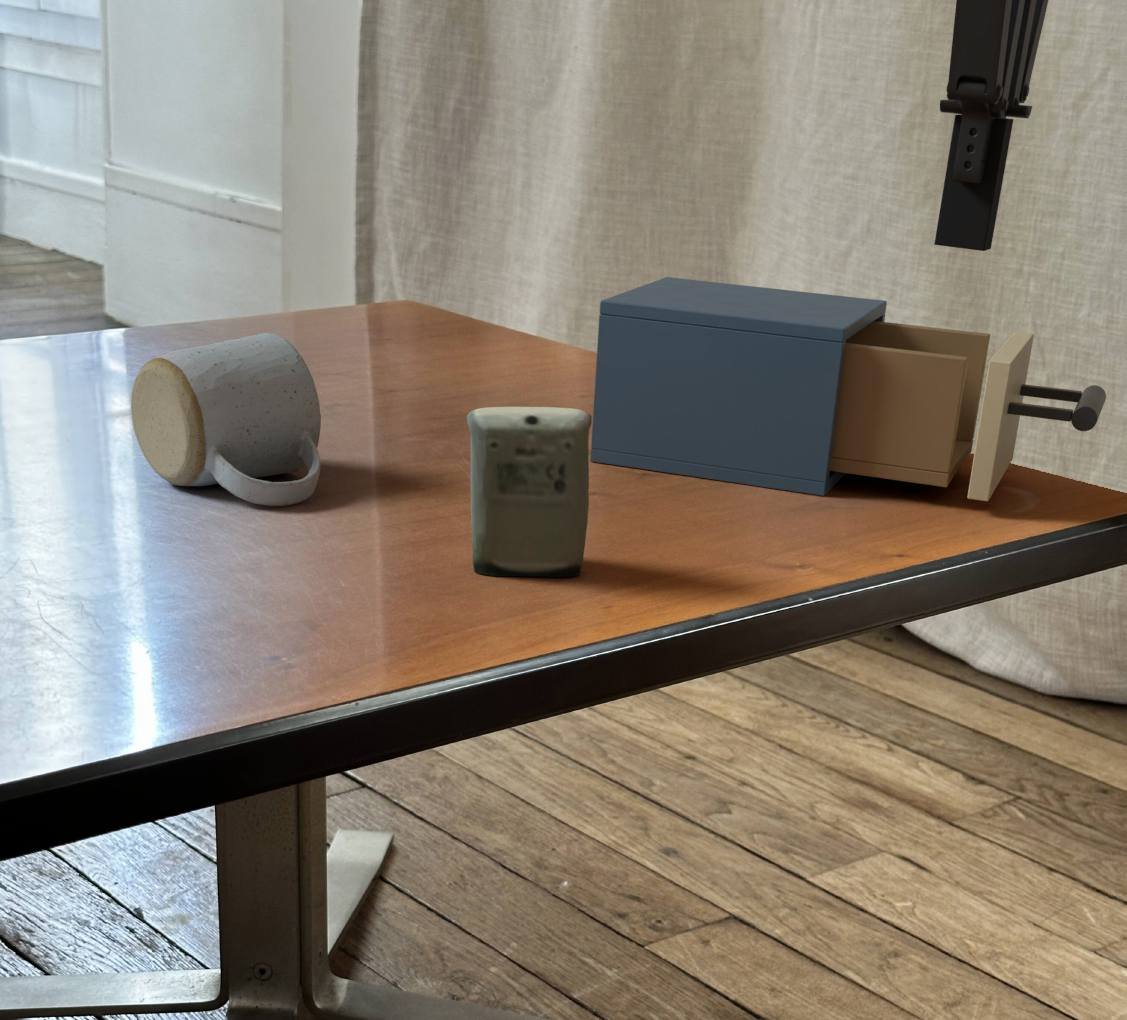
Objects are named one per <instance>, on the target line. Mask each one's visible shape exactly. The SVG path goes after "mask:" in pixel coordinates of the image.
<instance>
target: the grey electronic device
mask: <svg viewBox="0 0 1127 1020" xmlns="http://www.w3.org/2000/svg"><path fill="white" fill-rule="evenodd" d="M466 423H467V426H468V427H467V428H468V431H469V434H470V440H469V441H470V442H469V443H470V444H469V446H470V451H469V452H470V453H469V457H470V459H469V460H470V465H469V466H470V467H469V468H470V472H469V473H470V474H469V475H470V477H469V482H470V483H469V484H470V485H469V486H470V520H471V521H470V522H471V540H472V541H471V542H472V554H471V555H472V557H471V558H472V566H473V572H475V573H476V574H479V575H483V576H490V577H546V578H547V577H550V578H551V577H554V578H555V577H556V578H565V577H566V578H569V577H575V576H579V575H580V574H581V573H582V569H583V564H584V556H585V548H586V540H587V529H588V523H589V522H588V521H589V507H590V505H589V504H590V502H589V501H590V500H589V499H590V497H589V493H590V492H589V486H590V477H589V476H590V472H589V471H590V468H589V465H590V464H589V459H590V457H589V451H590V449H589V441H590V440H589V439H590V438H589V435H590V430H591V429H590V428H591V427H592V424H593V415H591V414H590V413H588V412H587V411H584V410H583V409H579V408H573V407H572V408H571V407H558V406H557V407H553V406H491V407H490V406H489V407H480V408H476V409H473V410H471V411H469V413H468V414H467V415H466Z"/></svg>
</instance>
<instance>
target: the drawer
mask: <svg viewBox="0 0 1127 1020" xmlns="http://www.w3.org/2000/svg"><path fill="white" fill-rule="evenodd" d="M1034 337H1035V334H1034V333H1032V332H1022V331H1014V332H1013V333H1012V334H1011V335H1010V336H1009V337H1008V339H1006V341H1005V342H1004V343H1003V345H1002V346H1001V347H1000V348H999V349H998V350H997V352H996V353H995V354H994V355H993V356H992V357H991V359H990V360H989V362H988V368H987V374H986V380H985V385H984V386H985V387H984V392H983V397H982V404H981V410H980V416H979V422H978V429H977V436H976V441H975V448H974V454H973V459H972V465H971V472H970V478H969V484H968V490H967V499H968V500H974V501H982V502H989V501H990V499H991V497H992V496H993V494H994V492H995V491H996V488H997V487H998V485H999V484H1000V481H1001V480H1002V478H1003V477H1004V475H1005V473H1006V471H1007V469H1008V468H1009V466H1010V464H1011V462H1012V461H1013V459H1014V454H1015V447H1016V442H1017V436H1018V430H1019V424H1020V418H1021V417H1030V418H1039V419H1046V420H1052V421H1061V422H1069V423H1071V425H1072V426H1073V428H1074V429H1075V430H1077V431H1079V432H1088V431H1091V430H1092V429H1093V428H1095V426H1096V425H1097V423H1098V420H1099V417H1100V415H1101V413H1102V410H1103V407H1104V406H1105V403H1106V400H1107V393H1106V391H1105V390H1104V388H1103V387H1101V386H1099V385H1095V384H1094V385H1089V386H1087V387H1086V388H1085V389H1084V390H1083V391H1081V390H1074V389H1067V388H1059V387H1050V386H1049V387H1048V386H1043V385H1033V384H1026V383H1027V378H1028V371H1029V367H1030V360H1031V356H1032V349H1033V344H1034ZM990 339H991V334H990V333H985V332H976V331H969V330H959V329H950V328H943V327H942V328H941V327H932V326H923V325H915V324H905V323H896V322H887V321H884V322H880V321H873V322H872V323H870V324H869V325H867V326H866V327H865V328H863V329H862V330H860V331H859V332H857V333H856V334H854V335H853V336H851V337H850V338H849V339H847V340H846V344H845V352H844V360H843V368H842V376H841V384H840V392H839V400H838V408H837V416H836V424H835V433H834V441H833V449H832V457H831V465H830V471H835V472H842V473H846V474H850V475H856V476H864V477H870V478H877V479H885V480H891V481H899V482H905V483H912V484H920V485H927V486H933V487H939V488H948V486H949V484H951V482H952V480H953V479H954V477H955V476H956V474H958V472H959V470H961V469H960V468H961V467H962V466H963V464H964V463H965V461H966V460H967V459H968V457H969V456H970V454H971V453H972V451H973V443H974V438H975V434H976V433H975V431H976V426H977V420H978V414H979V408H980V401H981V395H982V389H983V382H984V376H985V370H986V364H987V357H988V351H989V345H990ZM1024 397H1031V398H1039V399H1044V400H1045V399H1047V400H1055V401H1063V402H1069V403H1070V402H1071V403H1077V404H1076V406H1075V408H1074V410H1073V409H1071V408H1063V407H1056V406H1048V405H1040V404H1032V403H1023V402H1024V401H1023V400H1024Z"/></svg>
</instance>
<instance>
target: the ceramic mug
mask: <svg viewBox="0 0 1127 1020" xmlns="http://www.w3.org/2000/svg"><path fill="white" fill-rule="evenodd" d="M317 391H318V390H317V387H316V385H315V381H314V378H313V376H312V374H311V372H310V368H309V366H308V365H307V364H306V362H305V360H304V358H303V357H302V355H301V354H300V352H299V351H298V350H297V349H296V347H295V346H294V345H293V344H292V343H291V342H290V341H289V340H287V338H285V337H283V336H281V335H280V334H276V333H271V332H263V333H258V334H254V335H253V334H252V335H249V336H243V337H237V338H234V339H228V340H223V341H220V342H219V341H218V342H215V343H210V344H205V345H200V346H195V347H187V348H182V349H176V350H172V351H170V352H167V353H164V354H162V355H159V356H156V357H155V358H152V359H151V360H148V361H147V362H146V363H144V364H143V366H141V367H140V368H139V371H138V373H137V374H136V376H135V379H134V382H133V386H132V391H131V397H130V398H131V399H130V410H131V411H130V412H131V421H132V425H133V431H134V435H135V437H136V440H137V444H138V446H139V448H140V450H141V452H142V455H143V456H144V458H145V460H146V462H147V463H148V465H149V466H150V468H151V469H152V470H153V471H154V472H155V473H156V474H157V475H158V476H160V477H161V478H162V479H163V480H165V481H166V482H167V483H169V484H172V485H174V486H179V487H207V486H212V485H220V486H221V487H222V488H223V489H225V490H227V491H228V492H229V493H231V494H232V495H234V497H236V498H238V499H242V501H243V500H244V501H246V502H248V503H252V504H256V505H262V506H268V507H285V506H291V505H296V504H300V503H302V502H304V501H306V500H307V499H309V498H310V497H311V496H312V495H313V493H314V492H315V490H316V487H317V486H318V482H319V477H320V472H321V463H322V462H321V458H320V453H319V449H318V447H319V442H320V435H321V427H322V426H321V425H322V415H321V407H320V400H319V395H318V392H317ZM304 468H306V469H307V471H308V474H306V475H305V476H304V477H303V478H301V479H298V480H292V481H281V482H280V481H273V482H272V481H269V480H262V479H258V478H264V477H270V476H277V475H278V476H279V475H282V474H288V473H295V472H298V471H300V470H302V469H304Z"/></svg>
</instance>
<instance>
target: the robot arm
mask: <svg viewBox="0 0 1127 1020" xmlns="http://www.w3.org/2000/svg"><path fill="white" fill-rule="evenodd" d="M1048 5H1049V0H956V2H955V11H954V22H953V30H952V31H953V32H952V41H951V50H950V51H951V52H950V62H949V71H948V82H947V85H946V98H947V99H940V100H939V112H940V113H944V114H954V119H953V126H952V133H951V139H950V145H949V151H948V158H947V163H946V170H945V177H944V181H943V190H942V195H941V201H940V207H939V214H938V220H937V226H936V232H935V237H934V246H942V247H949V248H957V249H964V250H971V251H972V250H973V251H980V252H985V251H988V250H991V249H992V244H993V238H994V233H995V228H996V221H997V215H998V210H999V204H1000V199H1001V193H1002V187H1003V181H1004V177H1005V170H1006V164H1007V158H1008V155H1009V148H1010V141H1011V135H1012V131H1013V125H1014V118H1017V119H1029V118H1030V116H1031V113H1032V110H1033V105H1025V102H1027V98H1028V96H1029V94H1030V85H1031V80H1032V79H1031V78H1032V74H1033V71H1034V65H1035V60H1036V57H1037V52H1038V48H1039V45H1040V39H1041V36H1042V35H1041V34H1042V30H1043V26H1044V21H1045V18H1046V12H1047V9H1048Z"/></svg>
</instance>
